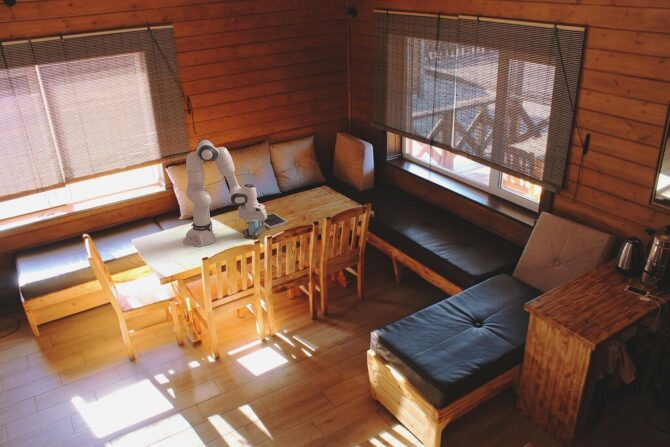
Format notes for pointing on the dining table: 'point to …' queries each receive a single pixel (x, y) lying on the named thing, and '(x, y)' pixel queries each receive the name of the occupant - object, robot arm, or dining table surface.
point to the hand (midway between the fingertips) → (253, 224)
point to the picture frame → (274, 221)
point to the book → (253, 226)
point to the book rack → (256, 232)
